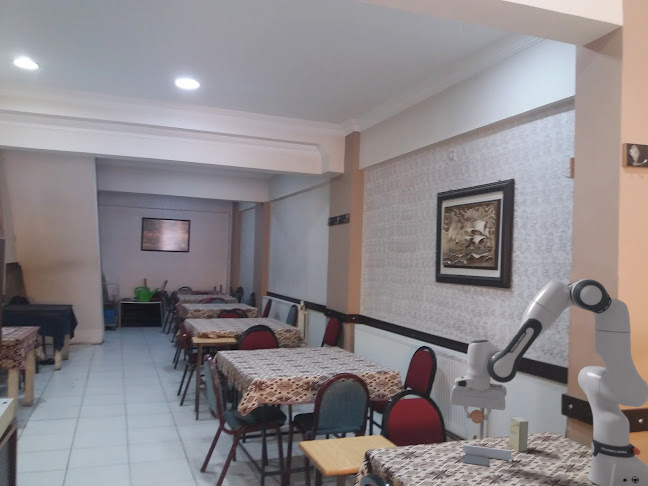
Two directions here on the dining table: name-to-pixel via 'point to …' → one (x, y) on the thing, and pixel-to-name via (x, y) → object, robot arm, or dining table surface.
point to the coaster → (476, 460)
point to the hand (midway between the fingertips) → (477, 418)
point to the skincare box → (518, 434)
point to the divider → (487, 452)
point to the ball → (477, 416)
